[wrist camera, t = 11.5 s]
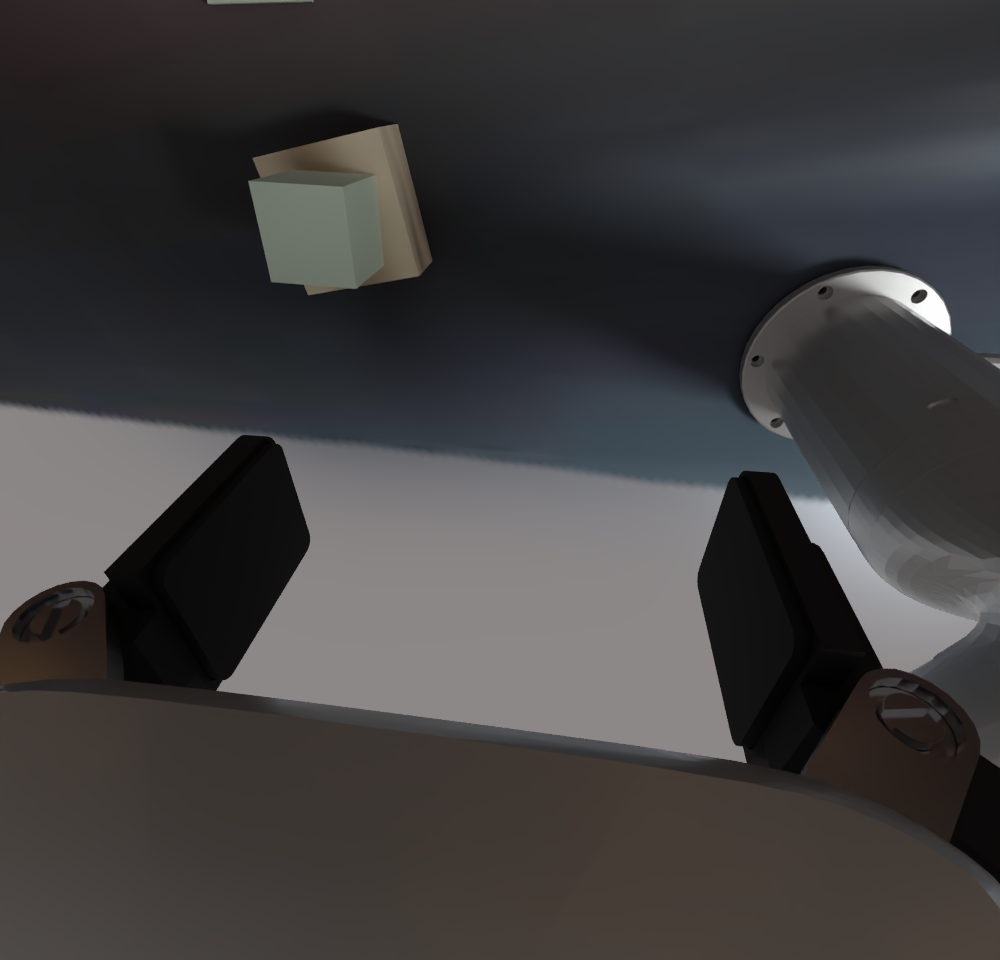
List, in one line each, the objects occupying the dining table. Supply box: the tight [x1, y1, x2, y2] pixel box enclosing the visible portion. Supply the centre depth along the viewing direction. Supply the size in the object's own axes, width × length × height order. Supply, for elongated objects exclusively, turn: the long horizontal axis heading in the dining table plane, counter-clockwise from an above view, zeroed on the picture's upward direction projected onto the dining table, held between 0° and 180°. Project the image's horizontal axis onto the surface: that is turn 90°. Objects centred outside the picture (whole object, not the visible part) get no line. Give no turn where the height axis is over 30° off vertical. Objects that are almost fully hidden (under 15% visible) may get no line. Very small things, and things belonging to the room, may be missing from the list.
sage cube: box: [248, 170, 384, 289], centre depth 29 cm, size 5×5×5 cm
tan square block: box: [253, 124, 433, 295], centre depth 33 cm, size 8×8×4 cm
